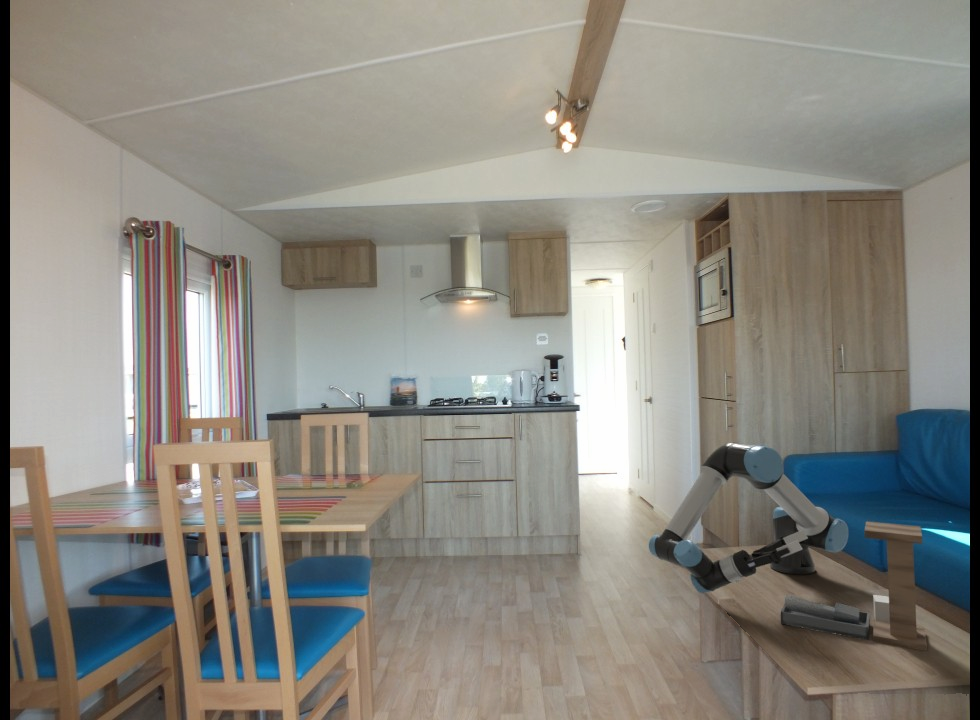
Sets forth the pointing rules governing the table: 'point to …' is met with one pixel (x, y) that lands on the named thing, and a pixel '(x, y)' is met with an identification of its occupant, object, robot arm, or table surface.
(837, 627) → the tray
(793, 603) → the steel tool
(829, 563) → the table surface
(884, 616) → the white cube
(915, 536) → the shelf post
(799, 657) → the table surface
